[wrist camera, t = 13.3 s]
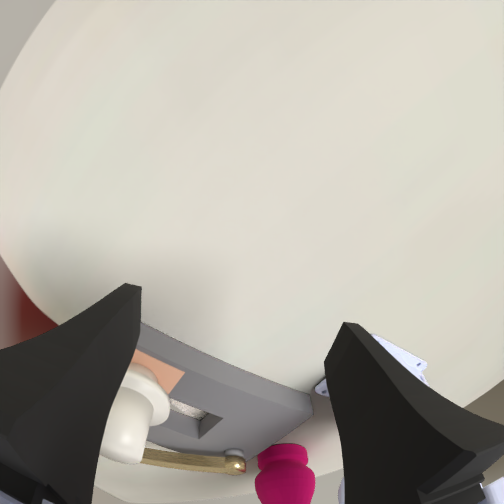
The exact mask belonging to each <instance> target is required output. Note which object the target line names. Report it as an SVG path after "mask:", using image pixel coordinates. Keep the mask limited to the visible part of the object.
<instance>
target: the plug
mask: <svg viewBox="0 0 504 504" xmlns="http://www.w3.org/2000/svg"><path fill="white" fill-rule="evenodd" d="M170 407H171V401H170V398H169V396H168V394H167V393H166V391H165V390H164V389H163V388H162V387H161V386H160V385H159V384H158V379H157V377H156V375H155V374H154V373H153V372H152V371H151V370H150V369H148V368H147V367H145V366H143V365H141V364H138V363H133V362H131V363H130V365H129V367H128V369H127V372H126V374H125V376H124V379H123V381H122V383H121V386H120V388H119V390H118V393H117V395H116V397H115V400H114V402H113V404H112V407H111V410H110V413H109V416H108V420H107V423H106V427H105V431H104V435H103V439H102V444H101V448H100V453H99V454H100V455H102V456H104V457H106V458H108V459H110V460H113V461H116V462H120V463H124V464H137V463H140V462H141V461H142V456H143V452H144V448H145V444H146V439H147V435H148V431H149V427H150V426H156V425H159V424H162V423H163V422H165V421H166V420H167V418H168V416H169V412H170Z"/></svg>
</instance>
